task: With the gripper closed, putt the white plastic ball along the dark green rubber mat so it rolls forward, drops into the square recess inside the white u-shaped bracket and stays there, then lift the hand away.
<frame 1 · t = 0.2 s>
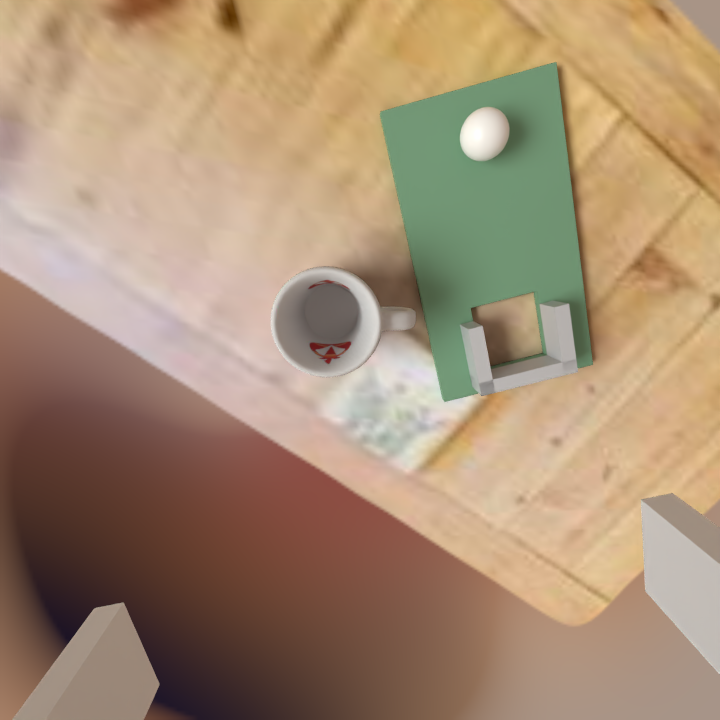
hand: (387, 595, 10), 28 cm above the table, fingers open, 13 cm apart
ball: (484, 134, 30), point 3 cm above the table, touching green mat
green mat: (491, 248, 35), on the table
cup: (347, 310, 36), on the table
white u-shaped bracket: (506, 330, 37), resting in green mat
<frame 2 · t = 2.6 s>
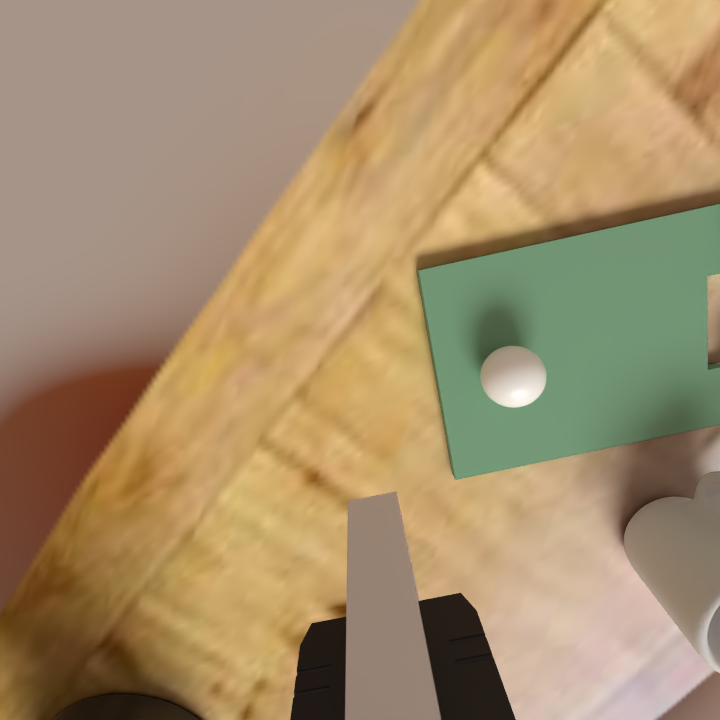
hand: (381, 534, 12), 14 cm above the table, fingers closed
ball: (512, 376, 23), point 3 cm above the table, touching green mat
green mat: (626, 337, 26), on the table
cup: (662, 510, 29), on the table
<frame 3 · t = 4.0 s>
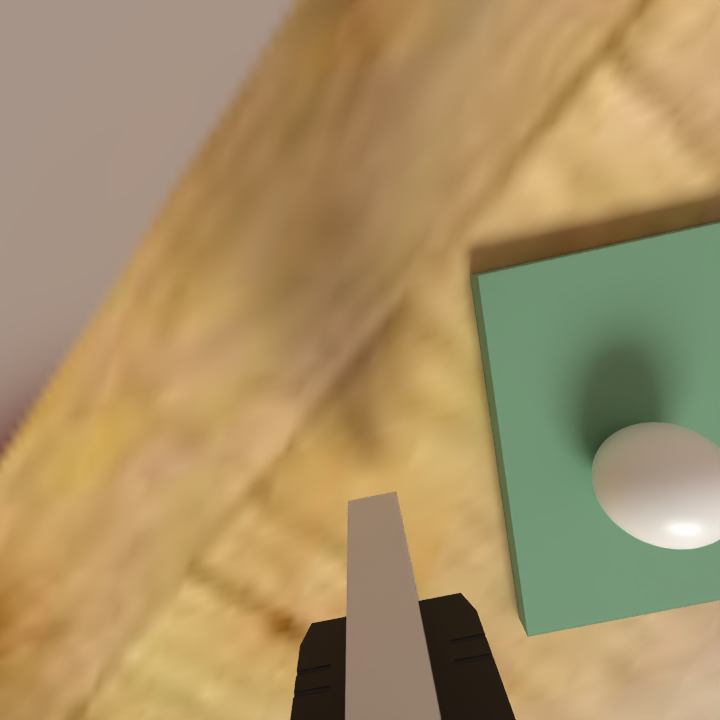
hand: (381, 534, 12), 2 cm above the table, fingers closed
ball: (660, 482, 12), point 3 cm above the table, touching green mat
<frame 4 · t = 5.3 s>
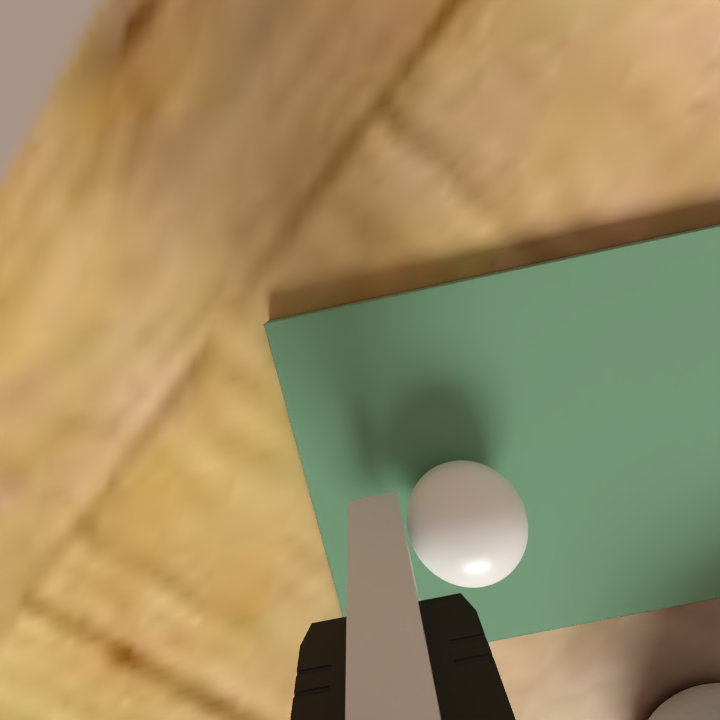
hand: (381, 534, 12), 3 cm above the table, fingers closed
ball: (464, 520, 12), point 3 cm above the table, tilted 24°, touching green mat
green mat: (650, 435, 15), on the table
cup: (702, 696, 18), on the table
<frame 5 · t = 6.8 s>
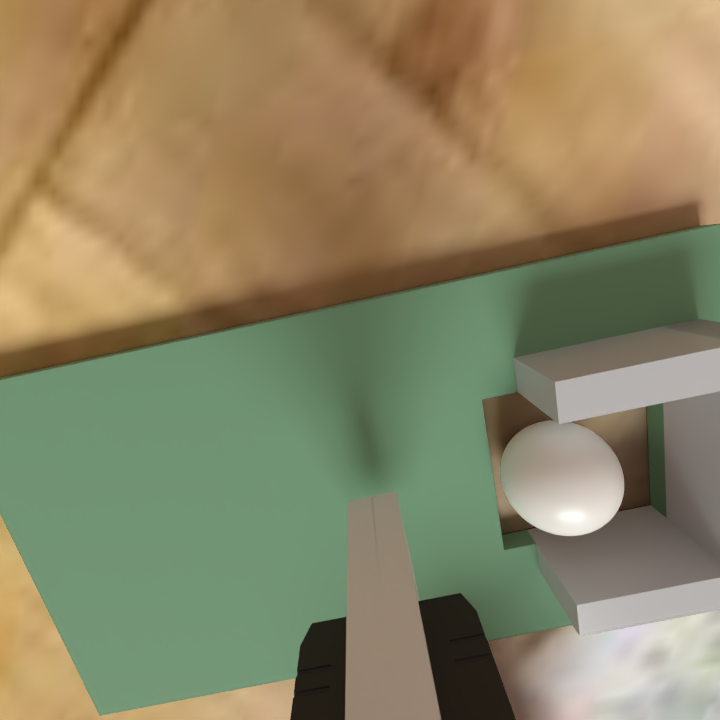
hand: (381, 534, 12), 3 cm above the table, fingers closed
ball: (558, 475, 13), point 2 cm above the table, tilted 120°
green mat: (366, 491, 15), on the table
white u-shaped bracket: (566, 451, 15), resting in green mat
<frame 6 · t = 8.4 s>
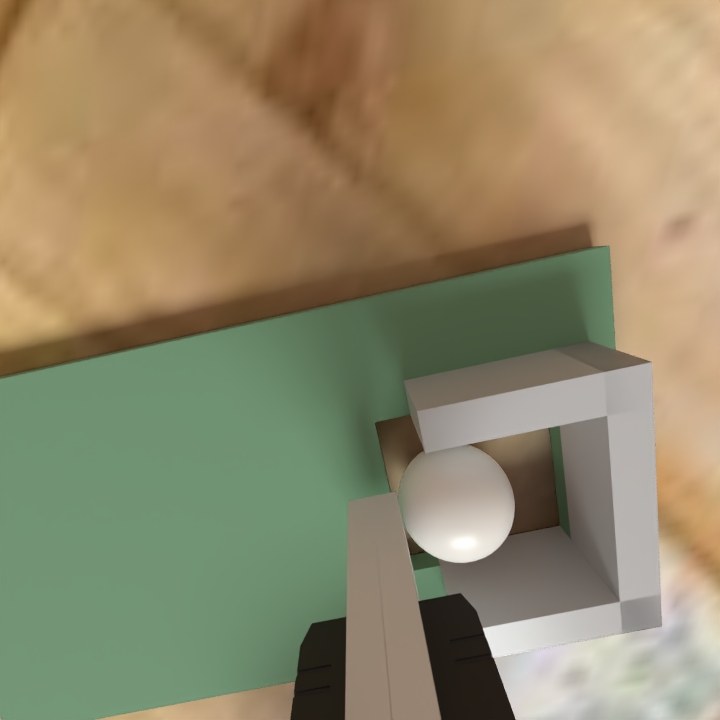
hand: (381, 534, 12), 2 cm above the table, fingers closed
ball: (454, 499, 13), point 2 cm above the table, tilted 129°, touching gripper
green mat: (270, 512, 15), on the table
white u-shaped bracket: (470, 471, 15), resting in green mat
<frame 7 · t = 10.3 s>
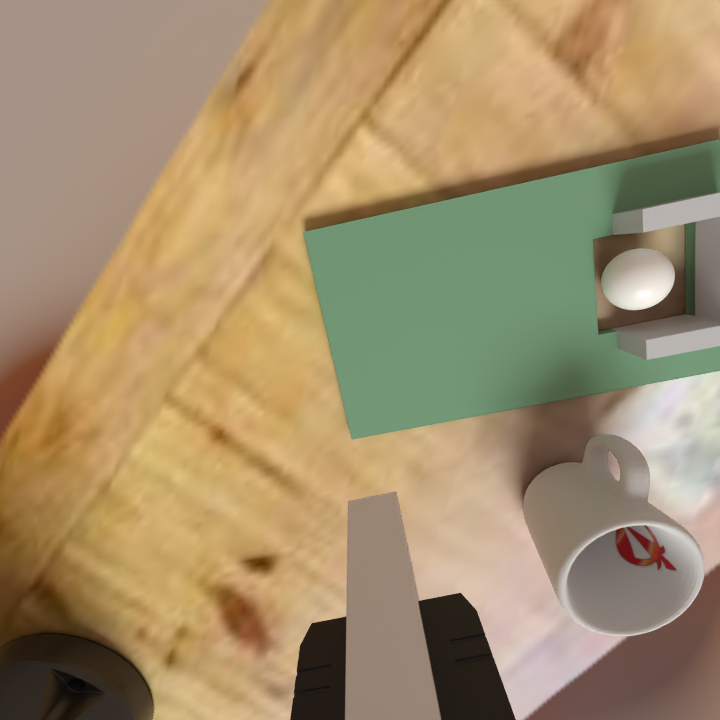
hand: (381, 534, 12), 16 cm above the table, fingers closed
ball: (636, 279, 24), point 2 cm above the table, tilted 124°
green mat: (518, 301, 26), on the table
cup: (564, 477, 29), on the table
white u-shaped bracket: (636, 277, 25), resting in green mat
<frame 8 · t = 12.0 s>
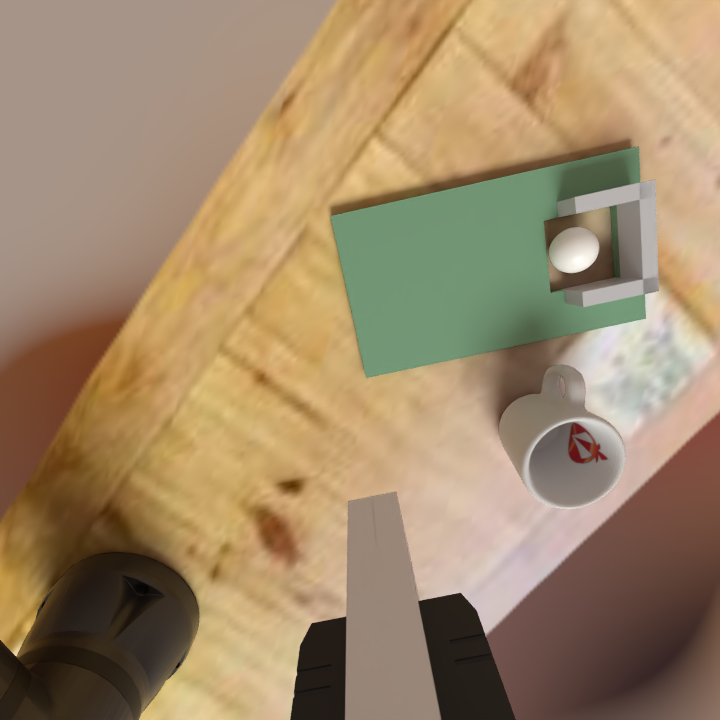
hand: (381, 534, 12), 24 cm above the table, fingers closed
ball: (573, 250, 32), point 2 cm above the table, tilted 119°
green mat: (491, 269, 34), on the table
cup: (530, 408, 38), on the table
white u-shaped bracket: (577, 250, 34), resting in green mat
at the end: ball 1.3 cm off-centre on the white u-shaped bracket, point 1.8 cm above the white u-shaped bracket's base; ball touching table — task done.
